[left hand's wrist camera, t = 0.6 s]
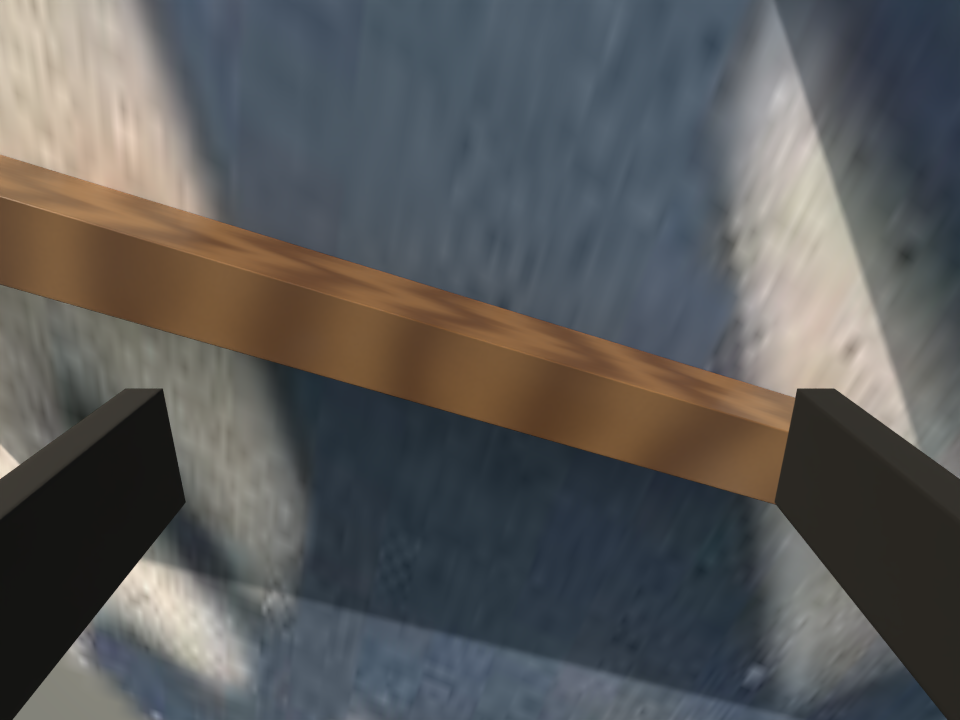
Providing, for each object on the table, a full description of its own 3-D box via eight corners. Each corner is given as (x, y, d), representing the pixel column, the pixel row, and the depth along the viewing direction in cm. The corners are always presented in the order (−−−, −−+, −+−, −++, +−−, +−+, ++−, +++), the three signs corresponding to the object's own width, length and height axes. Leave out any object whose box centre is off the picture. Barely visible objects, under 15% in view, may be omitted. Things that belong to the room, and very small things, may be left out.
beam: (-279, 147, 35) (-470, 152, 28) (-289, 66, 34) (-493, 48, 27) (806, 466, 43) (871, 532, 36) (839, 411, 41) (913, 468, 34)
